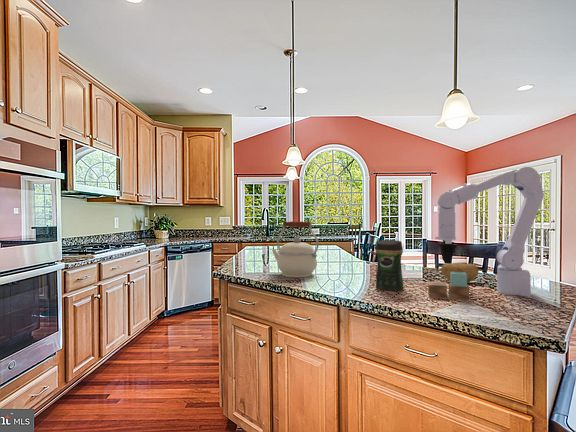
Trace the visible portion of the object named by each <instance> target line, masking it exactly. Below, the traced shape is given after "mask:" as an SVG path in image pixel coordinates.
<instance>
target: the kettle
mask: <svg viewBox="0 0 576 432" xmlns="http://www.w3.org/2000/svg"><path fill="white" fill-rule="evenodd" d="M312 225H313V224H312V221H292V220H291V221H286V220H285V221H283V223H282V230H281V231H280V233H279V235H278V236H277V239H276V245H277V248H278V251H277V249H271V252H272V254H273V256H274V259H275V260H276V262H277V263H276V264H277V269H279V271H280V272H281V275H282V276H283V277H287V278H296V279H297V278H298V279H299V278H309V277H311V276H312V275H313V272H314V271H315V270H316V268H317V265H318V260H317V257H318V255H317V252H318V249H319V244H320V243H319V239H318V237H317V236H316V234H315V233H314V232H313V230H312V229H313V228H312ZM286 227H291V228H304V227H307V228H309V232H310V233H311V234H312V236H313V237H314V239H315V241H316V247H315V248H314V247H313V246H312V245H311V244H310V243H307V242H301V241H302V239H301V237H299V236H295V237H293V239H292V241H293V242H287V243H285V244H283V245H282V246H281V247H280V238H281V236H282V235H283V233H284V232H285V230H286Z"/></svg>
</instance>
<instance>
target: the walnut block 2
mask: <svg viewBox="0 0 576 432" xmlns="http://www.w3.org/2000/svg"><path fill="white" fill-rule="evenodd" d="M448 295H449V297H450V299H449V300H457V299H463V300H462V301H470V300H469V298H470V287H469V285H468V284H467V287H459V286H451V284H450V283H448Z"/></svg>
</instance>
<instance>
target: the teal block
mask: <svg viewBox="0 0 576 432" xmlns="http://www.w3.org/2000/svg"><path fill="white" fill-rule="evenodd" d="M449 281H450V284H451V286H459V287H467V285H468V282H467V274H466V273H465V272H450V280H449Z"/></svg>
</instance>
